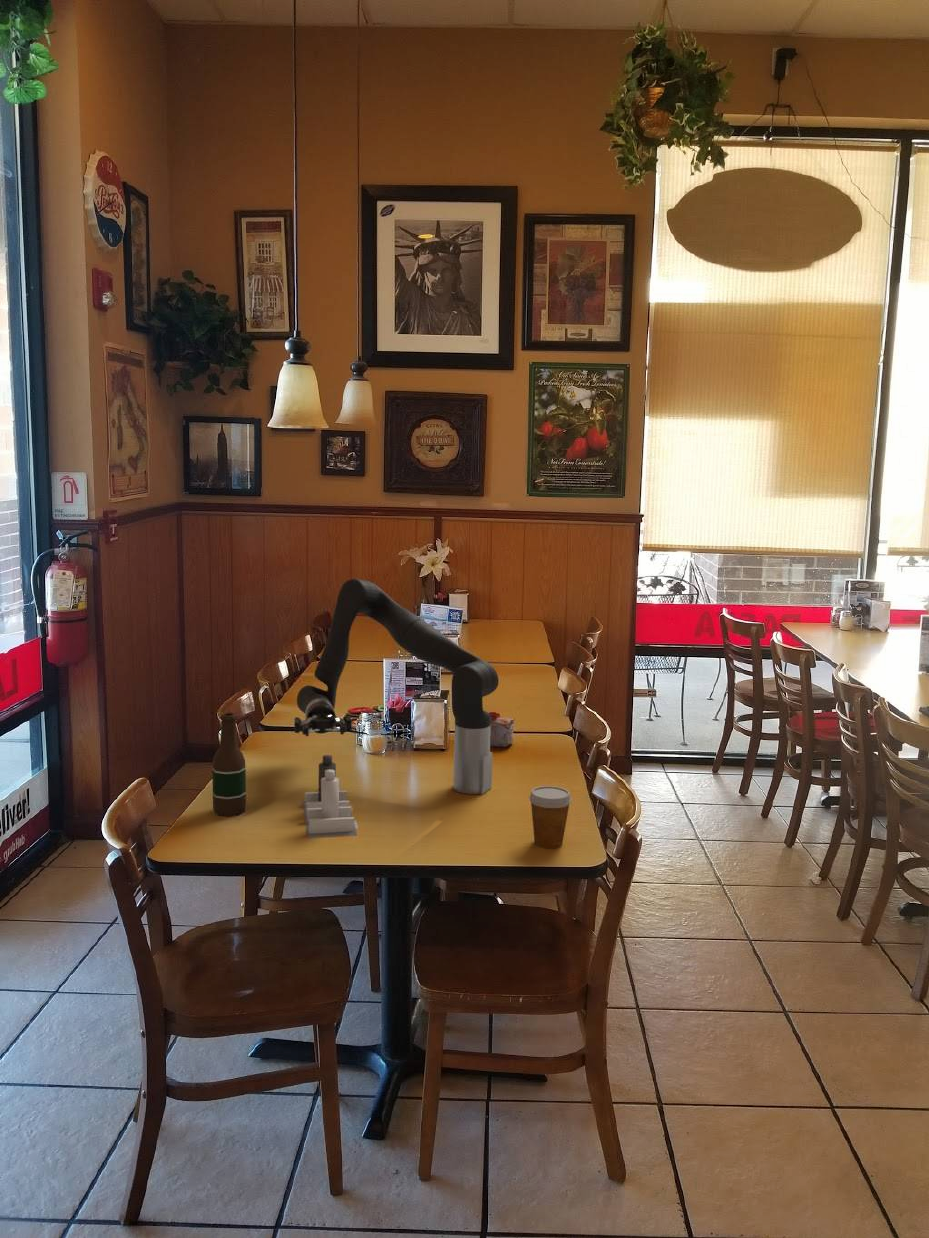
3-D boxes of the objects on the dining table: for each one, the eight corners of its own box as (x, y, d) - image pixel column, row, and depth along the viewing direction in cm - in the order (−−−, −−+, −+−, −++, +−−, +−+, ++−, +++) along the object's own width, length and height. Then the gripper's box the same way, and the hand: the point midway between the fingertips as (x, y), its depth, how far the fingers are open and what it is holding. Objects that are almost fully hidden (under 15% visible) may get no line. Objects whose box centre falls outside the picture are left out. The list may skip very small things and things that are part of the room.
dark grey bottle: (338, 807, 244) (339, 755, 242) (329, 812, 241) (330, 760, 239) (323, 804, 246) (324, 752, 244) (314, 809, 242) (315, 757, 240)
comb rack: (302, 806, 249) (302, 788, 248) (350, 804, 251) (350, 786, 250) (307, 844, 226) (307, 824, 225) (359, 841, 228) (360, 822, 227)
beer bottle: (232, 803, 250) (231, 708, 246) (252, 811, 245) (252, 714, 241) (206, 811, 244) (204, 714, 240) (226, 819, 239) (225, 720, 235)
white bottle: (342, 824, 234) (342, 769, 231) (332, 830, 230) (332, 774, 228) (327, 821, 235) (327, 767, 233) (318, 827, 232) (317, 772, 230)
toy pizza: (325, 717, 331) (325, 704, 330) (403, 709, 344) (404, 697, 343) (356, 740, 307) (357, 726, 306) (439, 730, 319) (440, 717, 319)
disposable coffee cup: (566, 835, 235) (568, 785, 233) (572, 851, 225) (574, 799, 223) (525, 834, 234) (527, 784, 232) (529, 851, 225) (531, 799, 223)
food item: (517, 743, 307) (518, 711, 305) (509, 750, 299) (510, 718, 298) (474, 738, 311) (474, 706, 309) (465, 745, 304) (466, 712, 302)
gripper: (292, 702, 264) (295, 717, 248) (347, 700, 267) (353, 715, 251) (293, 730, 265) (295, 747, 249) (347, 728, 268) (354, 744, 252)
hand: (324, 731), depth 250 cm, fingers open, 8 cm apart
